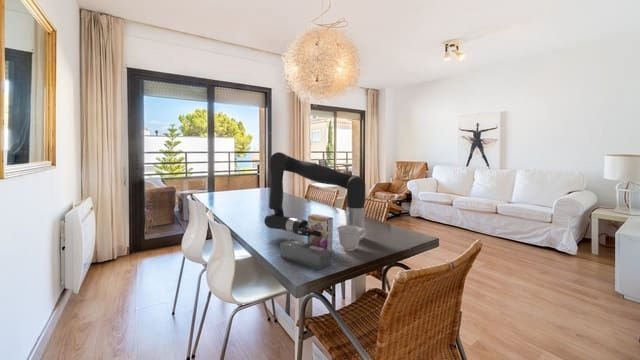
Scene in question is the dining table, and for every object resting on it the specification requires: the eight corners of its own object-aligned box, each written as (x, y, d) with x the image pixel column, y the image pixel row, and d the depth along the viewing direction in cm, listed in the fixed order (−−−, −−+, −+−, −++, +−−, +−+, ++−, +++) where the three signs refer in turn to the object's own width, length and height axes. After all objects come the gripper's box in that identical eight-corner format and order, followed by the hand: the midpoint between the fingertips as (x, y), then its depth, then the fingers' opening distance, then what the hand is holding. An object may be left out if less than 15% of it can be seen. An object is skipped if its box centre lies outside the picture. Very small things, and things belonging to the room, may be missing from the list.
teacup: (371, 252, 130) (372, 230, 129) (341, 254, 125) (342, 233, 124) (360, 243, 141) (361, 224, 140) (332, 246, 137) (333, 226, 136)
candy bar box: (306, 249, 131) (307, 215, 129) (312, 246, 135) (313, 213, 133) (327, 255, 125) (327, 219, 123) (332, 251, 129) (333, 216, 127)
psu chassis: (291, 251, 128) (291, 238, 128) (330, 264, 115) (330, 249, 114) (280, 256, 123) (280, 242, 122) (319, 270, 109) (319, 254, 109)
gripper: (286, 221, 132) (314, 228, 122) (306, 216, 143) (333, 221, 133) (286, 237, 133) (314, 245, 122) (306, 230, 144) (333, 237, 134)
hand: (324, 232), depth 128 cm, fingers closed on candy bar box, 5 cm apart
